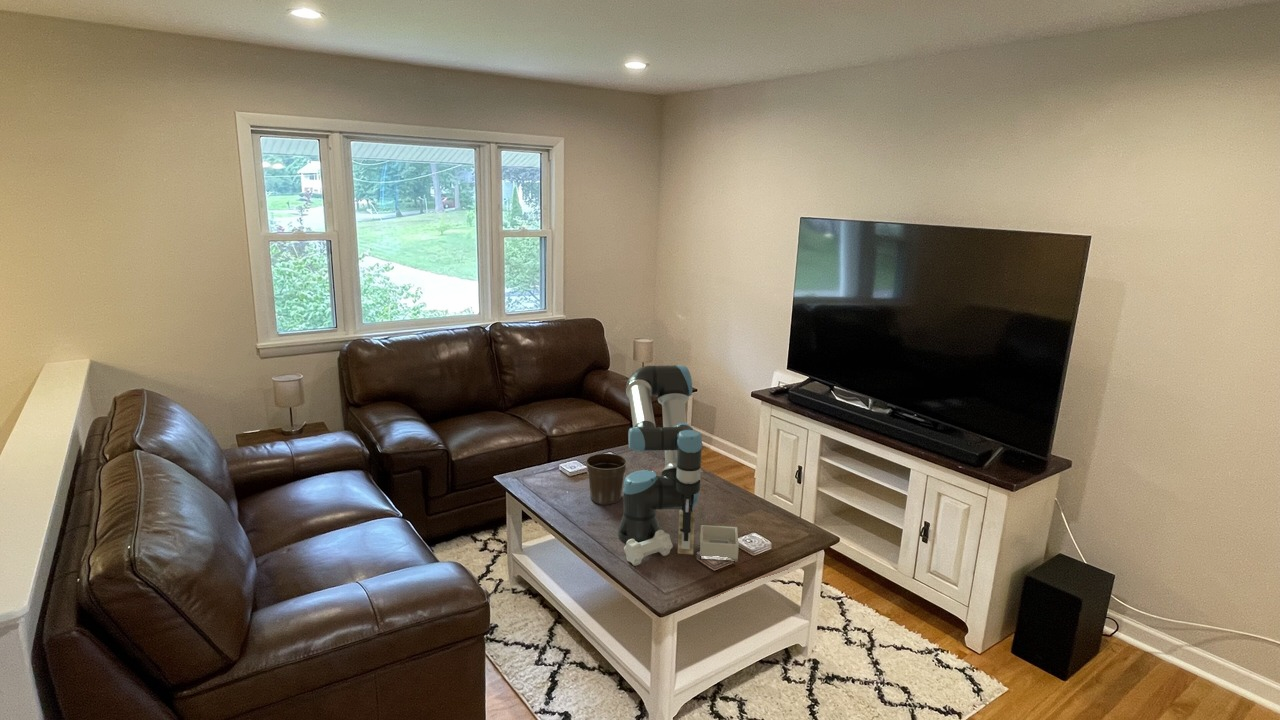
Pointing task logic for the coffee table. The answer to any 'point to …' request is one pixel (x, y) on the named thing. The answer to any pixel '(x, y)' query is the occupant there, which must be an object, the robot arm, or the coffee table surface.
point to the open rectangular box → (719, 541)
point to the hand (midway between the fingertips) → (685, 545)
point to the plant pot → (606, 477)
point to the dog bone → (648, 547)
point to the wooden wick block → (692, 522)
